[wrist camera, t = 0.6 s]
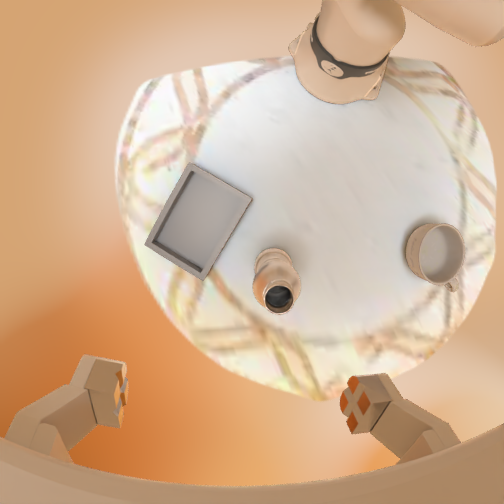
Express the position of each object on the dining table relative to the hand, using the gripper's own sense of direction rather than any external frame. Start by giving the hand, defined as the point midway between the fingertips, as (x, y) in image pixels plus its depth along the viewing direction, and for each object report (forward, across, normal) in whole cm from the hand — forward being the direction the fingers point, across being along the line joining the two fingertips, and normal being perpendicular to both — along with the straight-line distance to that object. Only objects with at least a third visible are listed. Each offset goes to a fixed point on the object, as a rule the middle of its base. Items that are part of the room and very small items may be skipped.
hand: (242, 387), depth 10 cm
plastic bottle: (+42, -11, +12) cm, 45 cm away
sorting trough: (+45, +2, +7) cm, 46 cm away
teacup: (+38, -40, +5) cm, 56 cm away
